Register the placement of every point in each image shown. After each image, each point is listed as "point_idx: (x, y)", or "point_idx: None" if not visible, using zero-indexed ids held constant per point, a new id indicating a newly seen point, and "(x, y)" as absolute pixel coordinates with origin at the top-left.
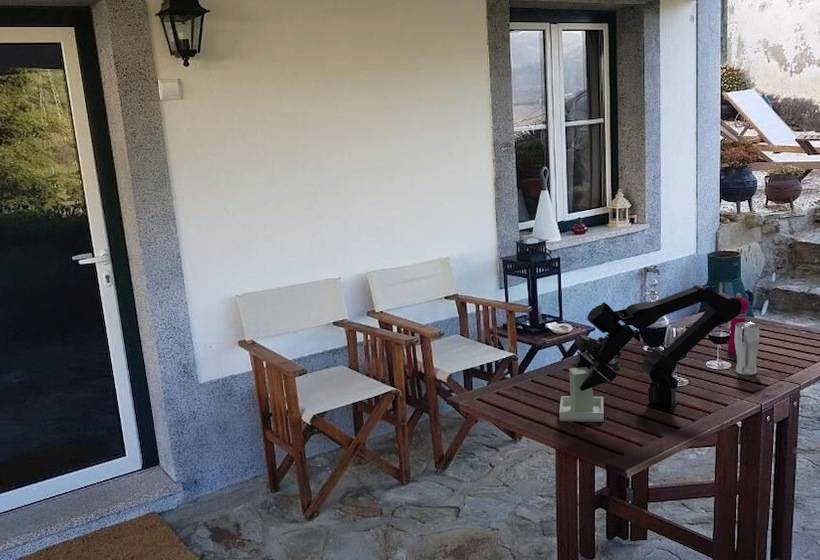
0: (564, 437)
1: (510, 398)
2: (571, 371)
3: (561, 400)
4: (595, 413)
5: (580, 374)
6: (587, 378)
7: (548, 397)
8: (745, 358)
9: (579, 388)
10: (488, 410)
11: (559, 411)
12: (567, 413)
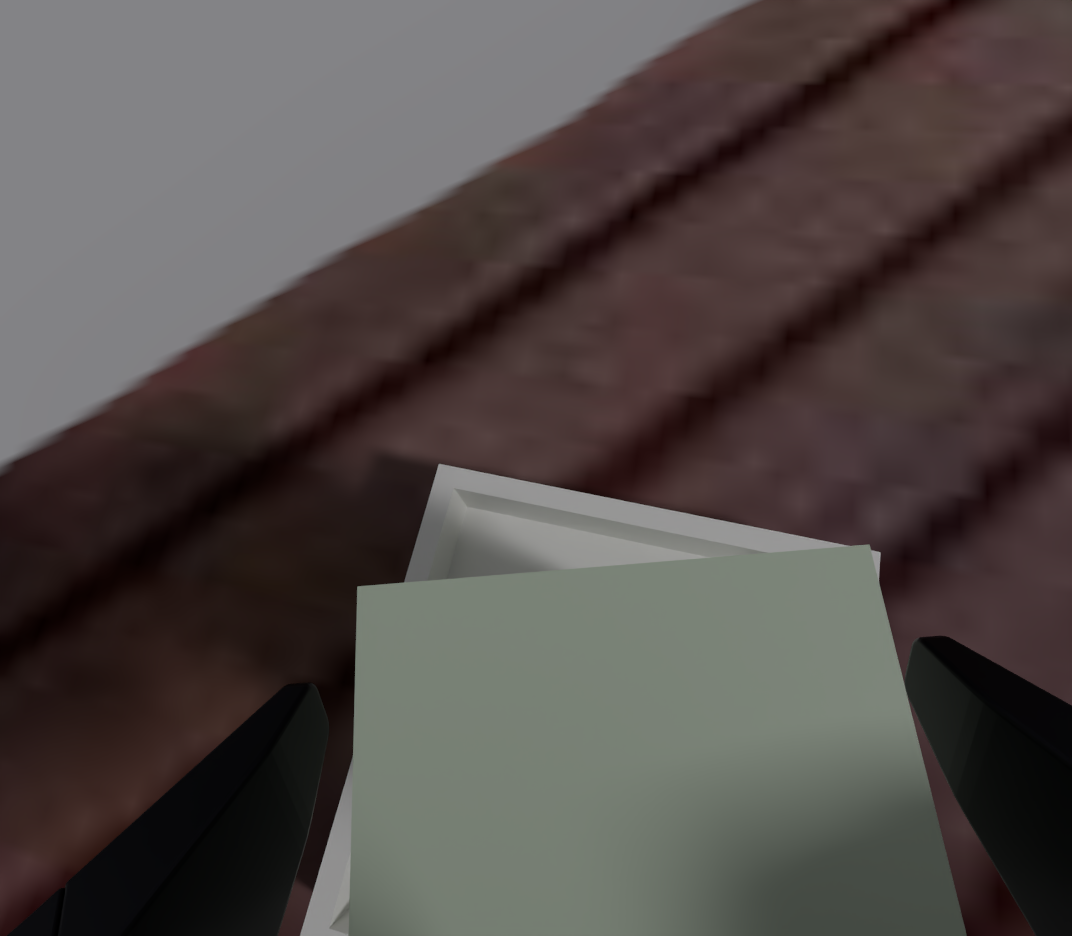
0: (147, 477)
1: (996, 175)
2: (632, 564)
3: (744, 532)
4: (331, 846)
5: (354, 780)
6: (57, 928)
7: (1036, 474)
8: None
9: (307, 683)
10: (747, 42)
11: (454, 467)
12: (419, 541)
